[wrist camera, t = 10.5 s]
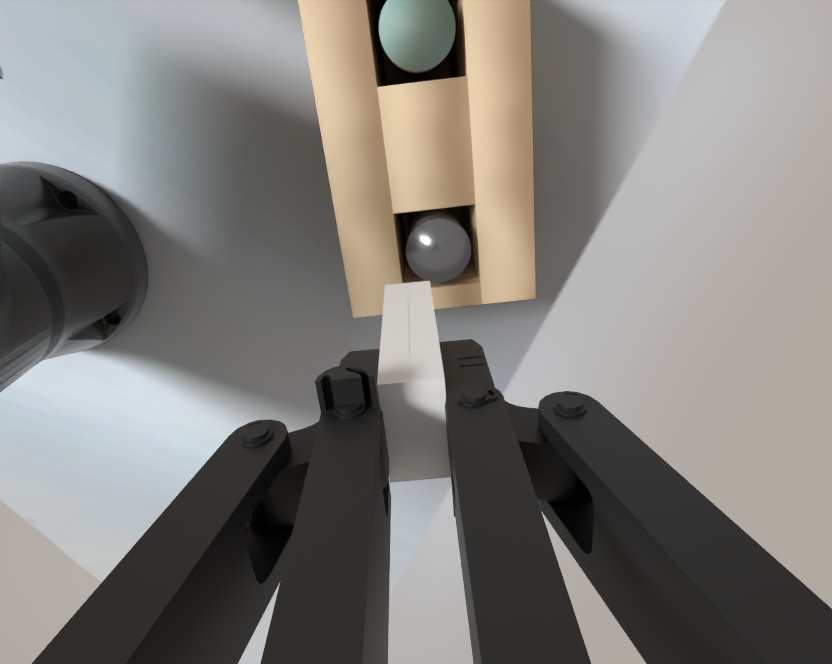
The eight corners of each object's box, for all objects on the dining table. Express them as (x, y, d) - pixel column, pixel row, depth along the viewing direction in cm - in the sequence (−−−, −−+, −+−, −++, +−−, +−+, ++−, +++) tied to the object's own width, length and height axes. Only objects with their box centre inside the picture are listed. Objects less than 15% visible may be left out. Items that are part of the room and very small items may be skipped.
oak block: (364, 271, 44) (352, 318, 35) (320, -11, 36) (289, -47, 27) (509, 255, 44) (535, 298, 34) (498, -34, 35) (528, -78, 26)
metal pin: (409, 247, 42) (409, 285, 33) (403, 195, 40) (402, 222, 32) (460, 241, 42) (473, 278, 33) (456, 189, 40) (468, 215, 32)
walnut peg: (389, 79, 37) (384, 75, 29) (381, 12, 35) (373, -12, 27) (447, 72, 37) (458, 66, 28) (442, 5, 35) (452, -22, 27)
